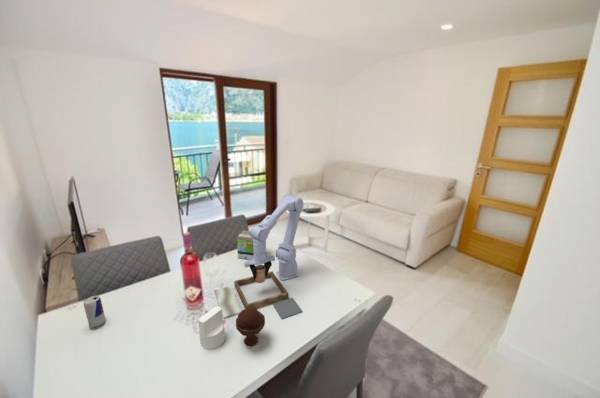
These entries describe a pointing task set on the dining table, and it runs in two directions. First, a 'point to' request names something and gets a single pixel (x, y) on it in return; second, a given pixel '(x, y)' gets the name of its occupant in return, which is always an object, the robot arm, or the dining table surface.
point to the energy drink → (94, 312)
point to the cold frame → (231, 304)
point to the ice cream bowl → (250, 325)
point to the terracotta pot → (260, 273)
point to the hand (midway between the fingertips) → (260, 276)
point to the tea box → (245, 245)
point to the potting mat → (287, 308)
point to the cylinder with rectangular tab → (211, 329)
